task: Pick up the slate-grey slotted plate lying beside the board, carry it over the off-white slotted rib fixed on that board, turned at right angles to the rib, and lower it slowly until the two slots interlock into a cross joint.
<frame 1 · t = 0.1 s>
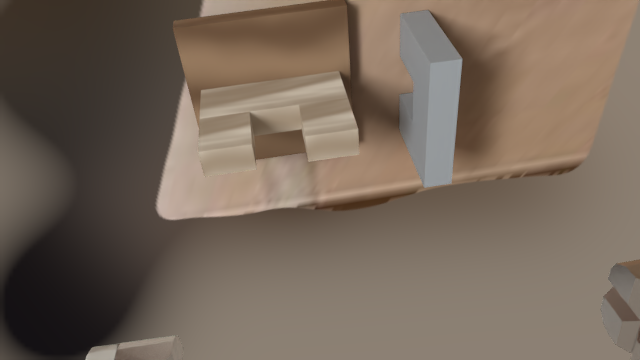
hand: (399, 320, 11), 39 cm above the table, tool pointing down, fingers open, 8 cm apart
slotted plate: (412, 73, 52), on the table
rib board: (271, 84, 51), on the table
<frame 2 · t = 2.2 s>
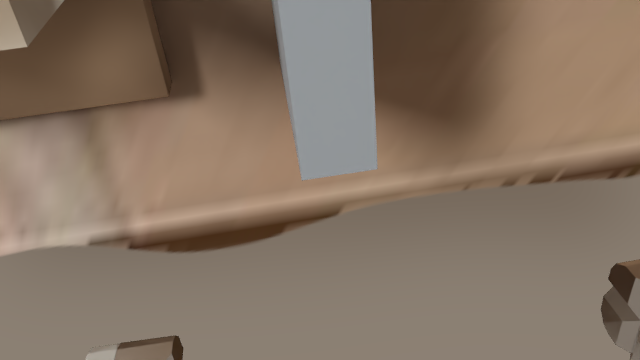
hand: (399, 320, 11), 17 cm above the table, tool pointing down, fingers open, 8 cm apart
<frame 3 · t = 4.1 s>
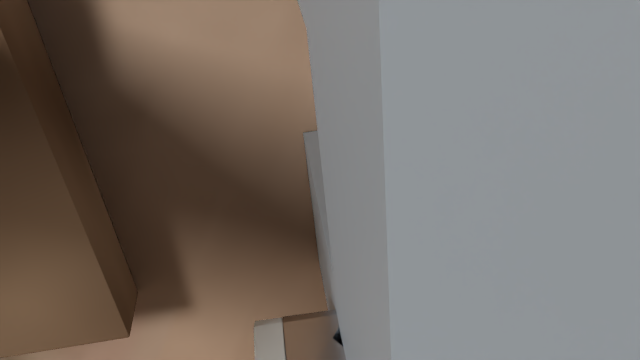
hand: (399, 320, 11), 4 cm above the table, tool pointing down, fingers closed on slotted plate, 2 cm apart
slotted plate: (349, 40, 12), on the table, touching gripper
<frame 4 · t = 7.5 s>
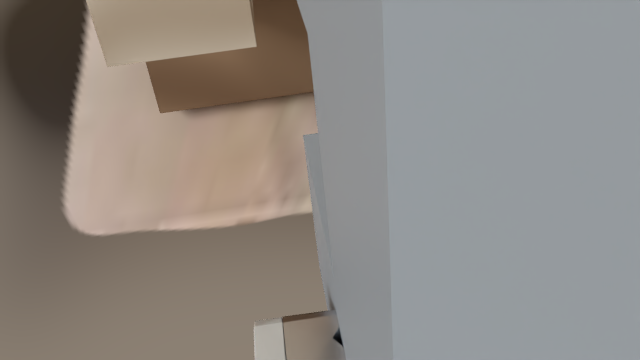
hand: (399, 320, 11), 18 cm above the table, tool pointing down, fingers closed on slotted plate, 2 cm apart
slotted plate: (349, 43, 12), point 14 cm above the table, touching gripper
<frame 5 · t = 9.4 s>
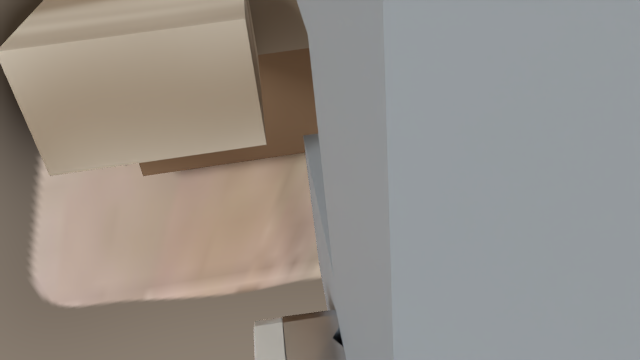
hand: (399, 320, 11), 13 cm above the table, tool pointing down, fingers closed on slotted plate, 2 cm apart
slotted plate: (349, 44, 12), point 9 cm above the table, touching gripper
when the fingers open (6 cm above the table, at t = 11.0 s): slotted plate stays where it is, resting on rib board.
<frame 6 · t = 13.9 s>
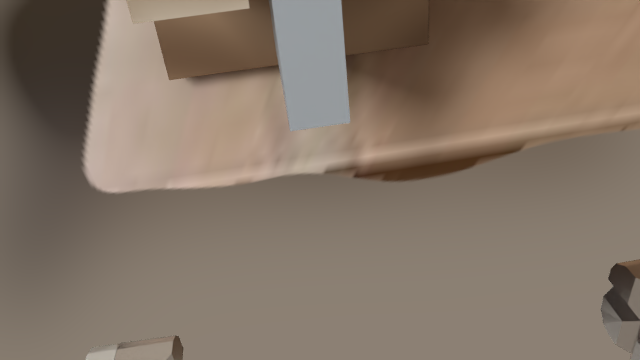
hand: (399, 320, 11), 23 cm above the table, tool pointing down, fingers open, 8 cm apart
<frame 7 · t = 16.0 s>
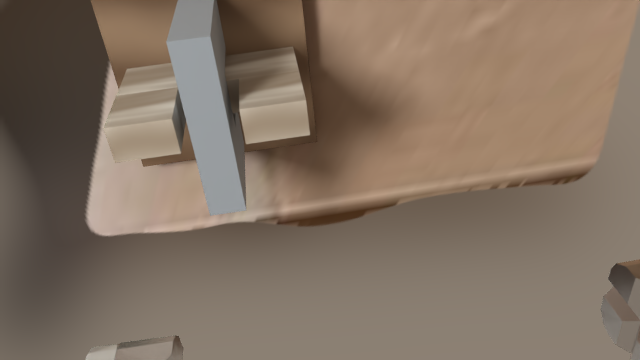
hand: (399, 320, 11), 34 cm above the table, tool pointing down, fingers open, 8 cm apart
slotted plate: (214, 75, 42), point 1 cm above the table, touching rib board
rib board: (214, 65, 43), on the table
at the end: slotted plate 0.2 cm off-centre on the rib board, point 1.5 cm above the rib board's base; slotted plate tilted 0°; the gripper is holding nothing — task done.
